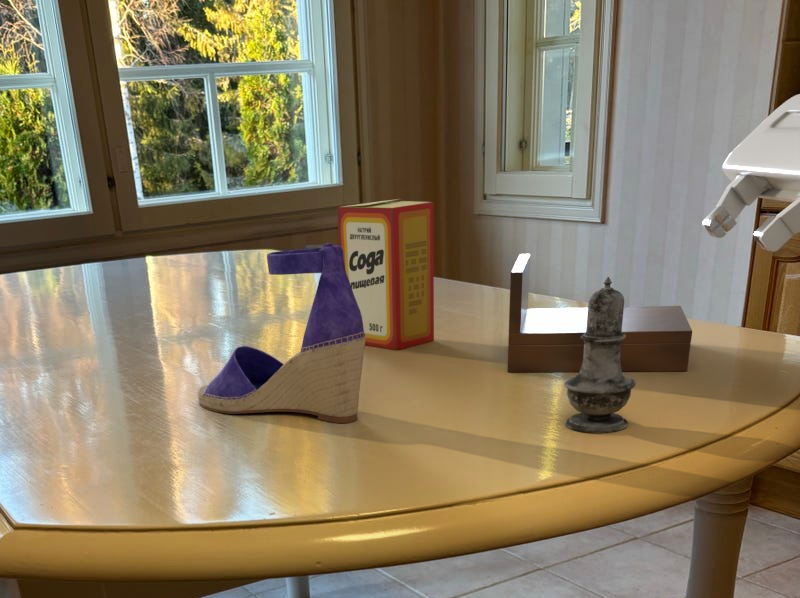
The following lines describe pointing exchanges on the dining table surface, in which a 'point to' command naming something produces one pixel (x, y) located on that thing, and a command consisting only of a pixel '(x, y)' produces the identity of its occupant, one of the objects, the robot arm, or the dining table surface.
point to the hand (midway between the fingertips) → (734, 238)
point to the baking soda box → (391, 269)
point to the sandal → (302, 351)
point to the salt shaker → (601, 368)
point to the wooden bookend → (562, 329)
